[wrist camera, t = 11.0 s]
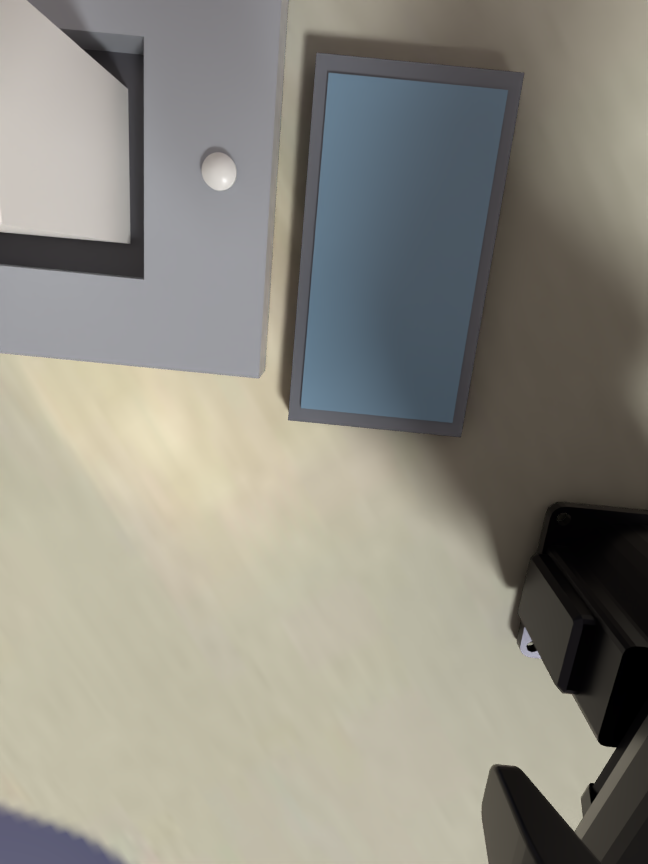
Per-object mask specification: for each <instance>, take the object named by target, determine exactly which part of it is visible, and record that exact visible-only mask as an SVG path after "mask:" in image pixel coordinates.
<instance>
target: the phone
mask: <svg viewBox="0 0 648 864" xmlns="http://www.w3.org/2000/svg"><path fill="white" fill-rule="evenodd" d="M523 77H524V73H521V72H511V71H501V70H490V69H480V68H470V67H459V66H449V65H439V64H428V63H418V62H408V61H397V60H387V59H377V58H366V57H356V56H346V55H335V54H325V53H317V54H316V66H315V79H314V92H313V105H312V118H311V131H310V144H309V157H308V170H307V183H306V196H305V209H304V221H303V234H302V247H301V260H300V273H299V286H298V299H297V312H296V325H295V338H294V351H293V364H292V376H291V389H290V402H289V415H288V420H291V421H301V422H312V423H322V424H332V425H342V426H352V427H362V428H373V429H383V430H393V431H403V432H413V433H423V434H434V435H444V436H454V437H461V434H462V429H463V423H464V417H465V411H466V405H467V400H468V394H469V388H470V382H471V377H472V371H473V365H474V359H475V354H476V348H477V342H478V336H479V331H480V325H481V319H482V313H483V308H484V302H485V296H486V290H487V285H488V279H489V273H490V267H491V262H492V256H493V250H494V244H495V239H496V233H497V227H498V221H499V216H500V210H501V204H502V198H503V192H504V187H505V181H506V175H507V169H508V164H509V158H510V152H511V146H512V141H513V135H514V129H515V123H516V118H517V112H518V106H519V100H520V95H521V89H522V83H523Z"/></svg>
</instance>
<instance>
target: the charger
mask: <svg viewBox="0 0 648 864" xmlns="http://www.w3.org/2000/svg"><path fill="white" fill-rule="evenodd" d="M0 232H3V233H14V234H25V235H36V236H48V237H59V238H70V239H81V240H92V241H104V242H115V243H126V244H131V243H130V178H129V114H128V89H127V88H126V87H125V86H124V85H123V84H122V83H120V82H119V81H118V80H117V79H116V78H115V77H114V76H112V75H111V74H110V73H109V72H108V71H107V70H106V69H105V68H103V67H102V66H101V65H100V64H99V63H98V62H97V61H95V60H94V59H93V58H92V57H91V56H90V55H89V54H87V53H86V52H85V51H84V50H83V49H82V48H81V47H79V46H78V45H77V44H76V43H75V42H74V41H73V40H71V39H70V38H69V37H68V36H67V35H66V34H65V33H64V32H62V31H61V30H60V29H59V28H58V27H57V26H56V25H54V24H53V23H52V22H51V21H50V20H49V19H48V18H46V17H45V16H44V15H43V14H42V13H41V12H40V11H38V10H37V9H36V8H35V7H34V6H33V5H32V4H30V3H29V2H28V1H27V0H0Z"/></svg>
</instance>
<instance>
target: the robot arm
mask: <svg viewBox="0 0 648 864" xmlns="http://www.w3.org/2000/svg"><path fill="white" fill-rule="evenodd" d="M561 513H566V517H565V518H564V519H563V520H560V521H557V517H558V515H560V514H561ZM518 615H519V617H520V619H521V624H520V628H519V633H518V637H517V644H518V646H519V648H520V650H521V652H522V654H524V655H525V656H527V657H532V658H541V659H542V661H543V663H544V664H545V666H546V668H547V670H548V672H549V674H550V676H551V678H552V680H553V682H554V684H555V685H556V686H557V688H558V689H559V690H560V691H561V692H562V693H565V694H572V695H573V697H574V699H575V700H576V702H577V704H578V706H579V708H580V710H581V711H582V713H583V715H584V717H585V719H586V720H587V722H588V724H589V726H590V728H591V729H592V731H593V733H594V735H595V737H596V738H597V740H598V742H599V743H600V744H601V745H603V746H607V747H617V748H616V750H615V751H614V753H613V755H612V756H611V758H610V759H609V761H608V763H607V764H606V766H605V767H604V769H603V771H602V772H601V774H600V775H599V777H598V779H597V780H596V782H595V783H590V784H589V785H588V787H587V788H586V790H585V792H584V793H583V795H582V797H581V804H582V813H583V819H582V820H581V822H580V823H579V825H578V827H577V828H576V830H575V832H574V831H573V830H572V829H571V827H570V826H569V825H568V824H567V823H566V822H565V820H564V819H563V818H562V817H561V816H560V815H559V813H558V812H557V811H556V810H555V809H554V807H553V806H552V805H551V804H550V803H549V802H548V800H547V799H546V798H545V797H544V796H543V795H542V793H541V792H540V791H539V790H538V789H537V787H536V786H535V785H534V784H533V783H532V782H531V780H530V779H529V778H528V777H527V776H526V775H525V773H524V772H523V771H522V770H521V769H519V768H518V767H516V766H509V765H499V764H495V765H493V766H492V767H491V768H490V771H489V775H488V779H487V784H486V788H485V792H484V797H483V801H482V823H483V829H484V836H485V842H486V849H487V855H488V862H489V864H648V510H638V509H628V508H618V507H607V506H597V505H587V504H577V503H567V502H557V503H555V504H553V505H551V506H550V507H549V508H548V510H547V512H546V515H545V520H544V524H543V528H542V533H541V537H540V541H539V546H538V550H537V553H536V554H534V555H533V556H532V557H531V558H530V561H529V566H528V570H527V574H526V579H525V583H524V588H523V592H522V596H521V601H520V605H519V610H518ZM531 641H532V642H533V645H527V644H528V643H529V642H531Z"/></svg>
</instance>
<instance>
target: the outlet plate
mask: <svg viewBox="0 0 648 864" xmlns="http://www.w3.org/2000/svg"><path fill="white" fill-rule="evenodd" d="M27 1H28V2H29V3H30V4H32V5H33V6H34V7H35V8H36V9H37V10H38V11H40V12H41V13H42V14H43V15H44V16H45V17H46V18H48V19H49V20H50V21H51V22H52V23H53V24H54V25H56V26H57V27H58V28H59V29H60V30H61V31H62V32H64V33H65V34H66V35H67V36H68V37H69V38H70V39H71V40H73V41H74V42H75V43H76V44H77V45H78V46H79V47H81V48H82V49H83V50H84V51H85V52H86V53H87V54H89V55H90V56H91V57H92V58H93V59H94V60H95V61H97V62H98V63H99V64H100V65H101V66H102V67H103V68H105V69H106V70H107V71H108V72H109V73H110V74H111V75H112V76H114V77H115V78H116V79H117V80H118V81H119V82H120V83H122V84H123V85H124V86H125V87H126V88H127V89H128V114H129V178H130V243H131V244H126V243H115V242H104V241H92V240H81V239H70V238H59V237H48V236H36V235H25V234H14V233H3V232H0V353H5V354H15V355H25V356H36V357H46V358H56V359H66V360H76V361H87V362H97V363H107V364H117V365H127V366H138V367H148V368H158V369H168V370H178V371H188V372H199V373H209V374H219V375H229V376H239V377H250V378H260V376H261V375H262V374H263V373H264V371H265V365H266V349H267V334H268V318H269V302H270V286H271V270H272V254H273V239H274V223H275V207H276V191H277V175H278V159H279V144H280V128H281V112H282V96H283V80H284V64H285V49H286V33H287V17H288V1H289V0H27Z"/></svg>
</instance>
